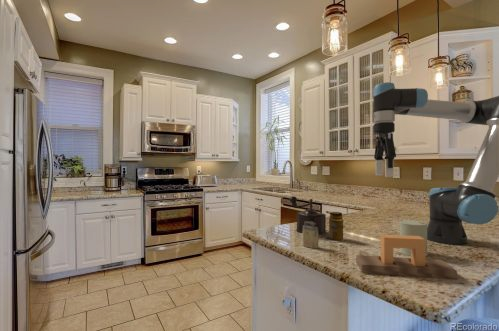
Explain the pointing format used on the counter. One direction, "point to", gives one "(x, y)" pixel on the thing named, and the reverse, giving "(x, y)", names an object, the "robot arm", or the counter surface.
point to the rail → (406, 267)
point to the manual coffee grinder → (309, 217)
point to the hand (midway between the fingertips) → (384, 176)
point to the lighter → (310, 235)
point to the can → (413, 232)
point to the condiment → (335, 227)
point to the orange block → (403, 242)
